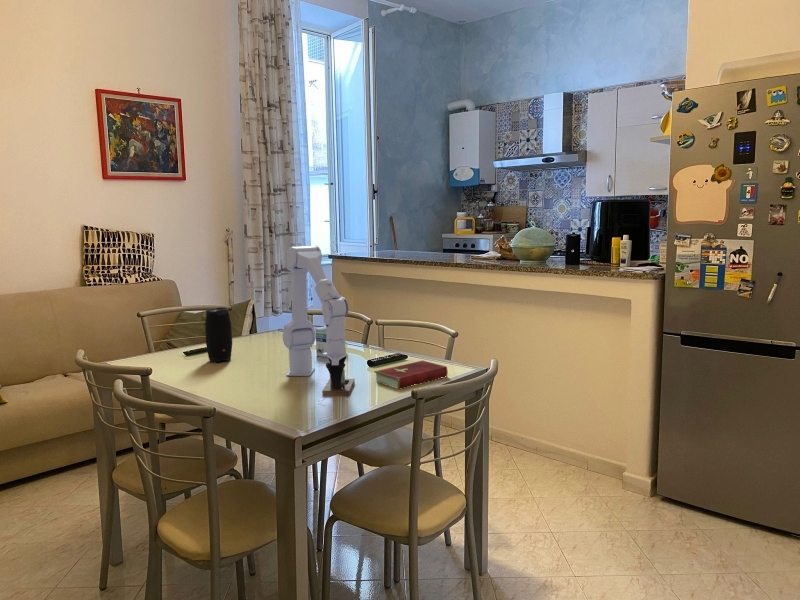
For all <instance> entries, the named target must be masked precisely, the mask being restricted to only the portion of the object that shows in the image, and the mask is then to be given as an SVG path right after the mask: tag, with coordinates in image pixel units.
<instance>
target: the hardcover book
mask: <svg viewBox="0 0 800 600" xmlns="http://www.w3.org/2000/svg"><path fill="white" fill-rule="evenodd" d="M448 372H449V371H448V366H446V365H441V364H439V363H435V362H431V361H428V360H427V361H426V360H418V361H415V362H410V363H405V364H400V365H397V366H396V365H395V366H392V367H391V366H390V367H388V368H387V367H386V368H383V369H379V370H374V373H375V380H376V381H377V382H376V381H375V382H376V383H379V382H380V383H379V384H382V383H384V384H383V385H385V384H387V385H386V386H388V385H390V386H389V387H391V386H393V387H392V388H394V387H395V388H394V389H397V390H401V389H400V388H402V389H405V388H404V387H406V388H408V387H407V386H410V387H412V386H411V385H414V384H418V385H421V384H420V383H422V384H424V383H425V382H426V383H429V382H428V381H430V382H433V381H436V380H435V379H437V380H439V379H438V378H441V377H445V376H447V377H448V375H449V374H448ZM445 378H446V377H445ZM441 379H442V378H441ZM432 380H433V381H432ZM426 383H425V384H426ZM414 386H415V385H414Z"/></svg>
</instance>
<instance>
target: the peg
mask: <svg viewBox="0 0 800 600" xmlns="http://www.w3.org/2000/svg"><path fill="white" fill-rule="evenodd" d="M345 372H346V371H345V368H344V369H343V372H342V377H341V384H340V387H333V385H332V381H331V376H330V375H329V379H330V387H331V388H333V389H343V388H344V387H345V379H346V375H345V374H346V373H345Z"/></svg>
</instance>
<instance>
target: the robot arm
mask: <svg viewBox="0 0 800 600" xmlns="http://www.w3.org/2000/svg"><path fill="white" fill-rule="evenodd" d="M322 257H323V254H322V249H320V247H319V246H318V245H313V246H312V245H309V246H290V247H289V248H288V250H287V252H286V269H287V271H289V272H290V274H291V276H290V277H291V319H290V320H289V321H287V322H286V323H285V324H284V326H283V334H282V342H283V346H285V348H287V349H288V362H289V363H288V365H289V371H288V372H287V373H286V377H300V376H301V377H304V376H305V377H310V376H311V374H313V373H314V371H315V369H316V367H313V356H312V355H313V354H312V349H311V348H312V347H313V345H314V344H315V343H316V330H315V325H314V323H313V322H311V321H310V320H309V319H308V300H307V299H308V297H307V296H308V295H307V293H308V290H307V289H308V288H307V286H308V284H307V282H308V281H307V280H308V279H307V274H309V275H310V277H311V278H312V280H313V282H314V283H315V286H314V290H315V293H316V295H317V297H318V298H319V300H320V303H321V313H322V317H323V323H324V325H325V326H326V345H327V352H326V353H323V356H327V357H328V358H327V357H326V358H327V359H328V361H329V362H326V364H325V367H326V369H327V371H328V373H329V377H330V376H331V381H332V385H333V387H340V384H341V377H342V372H343V369H344V370H345V367H346V363H345V362H346V359H347V355H348V354H347V348H346V347H347V346H346V341H347V340H346V317H347V316H348V314H349V310H350V309H349V303H348V300H347V299H346V298H345V297H343V296H342V295H340V293H339V292H338V291H337V288H336V286H335V284H334V282H333V281H332V280H330V279H328V278H327V276H326V273H325V270H324V268H323V265H322V261H323V260H322Z"/></svg>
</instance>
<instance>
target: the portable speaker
mask: <svg viewBox="0 0 800 600" xmlns="http://www.w3.org/2000/svg"><path fill="white" fill-rule="evenodd" d="M204 325H205V326H204V329H205V344H206V350H207V357H208V360H209V362H210V363H211V362H220V361H226V362H230V361H232V359H231V358H232V352H233V329H232V328H233V327H232V320H231V315H230V312H229V309H228V307H225V306H224V307H223V306H221V307H220V306H219V307H217V308H206V311H205V322H204ZM229 360H230V361H229Z"/></svg>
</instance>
